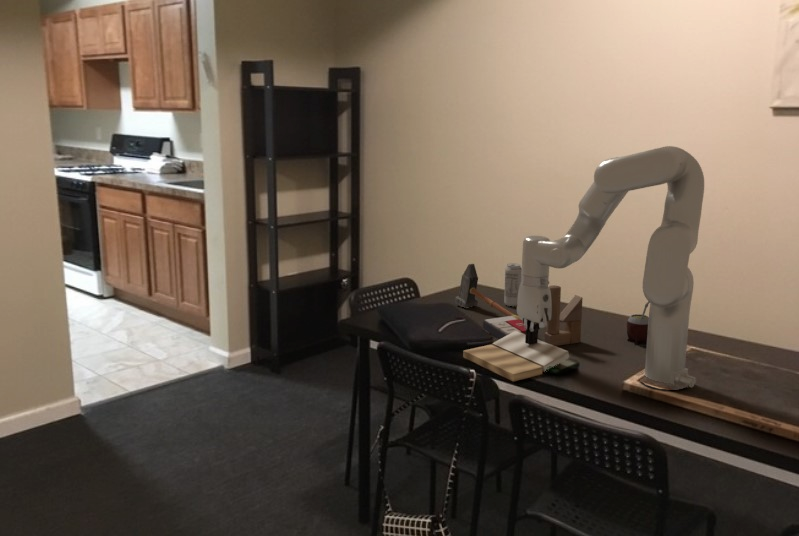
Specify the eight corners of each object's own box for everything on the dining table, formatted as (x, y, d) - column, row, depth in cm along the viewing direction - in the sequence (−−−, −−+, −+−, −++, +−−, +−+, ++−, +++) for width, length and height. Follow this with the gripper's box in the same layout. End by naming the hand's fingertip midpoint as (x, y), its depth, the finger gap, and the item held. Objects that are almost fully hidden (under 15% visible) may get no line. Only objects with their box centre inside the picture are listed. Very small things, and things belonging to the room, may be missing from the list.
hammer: (518, 297, 226) (460, 262, 249) (509, 341, 233) (454, 302, 255) (531, 295, 230) (473, 260, 252) (522, 337, 236) (466, 300, 258)
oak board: (542, 373, 188) (542, 366, 188) (513, 381, 183) (513, 374, 183) (490, 350, 206) (491, 344, 206) (463, 357, 201) (463, 350, 201)
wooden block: (580, 342, 213) (583, 285, 209) (550, 347, 209) (552, 288, 205) (573, 339, 216) (576, 282, 212) (543, 343, 212) (545, 285, 209)
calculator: (507, 333, 212) (482, 318, 225) (506, 346, 213) (482, 330, 226) (538, 328, 216) (512, 313, 229) (537, 341, 217) (511, 326, 231)
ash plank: (569, 357, 192) (568, 351, 192) (545, 372, 188) (543, 365, 188) (516, 336, 211) (515, 330, 210) (493, 349, 207) (492, 343, 206)
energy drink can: (524, 305, 255) (525, 264, 251) (514, 308, 250) (515, 267, 247) (510, 302, 259) (511, 262, 255) (500, 305, 254) (501, 265, 251)
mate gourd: (628, 337, 218) (631, 290, 214) (655, 341, 214) (658, 293, 211) (623, 344, 211) (626, 295, 208) (650, 348, 208) (653, 298, 204)
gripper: (563, 284, 191) (559, 348, 196) (527, 273, 204) (524, 333, 208) (542, 288, 188) (539, 353, 192) (507, 276, 200) (504, 337, 204)
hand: (531, 342), depth 200 cm, fingers closed
